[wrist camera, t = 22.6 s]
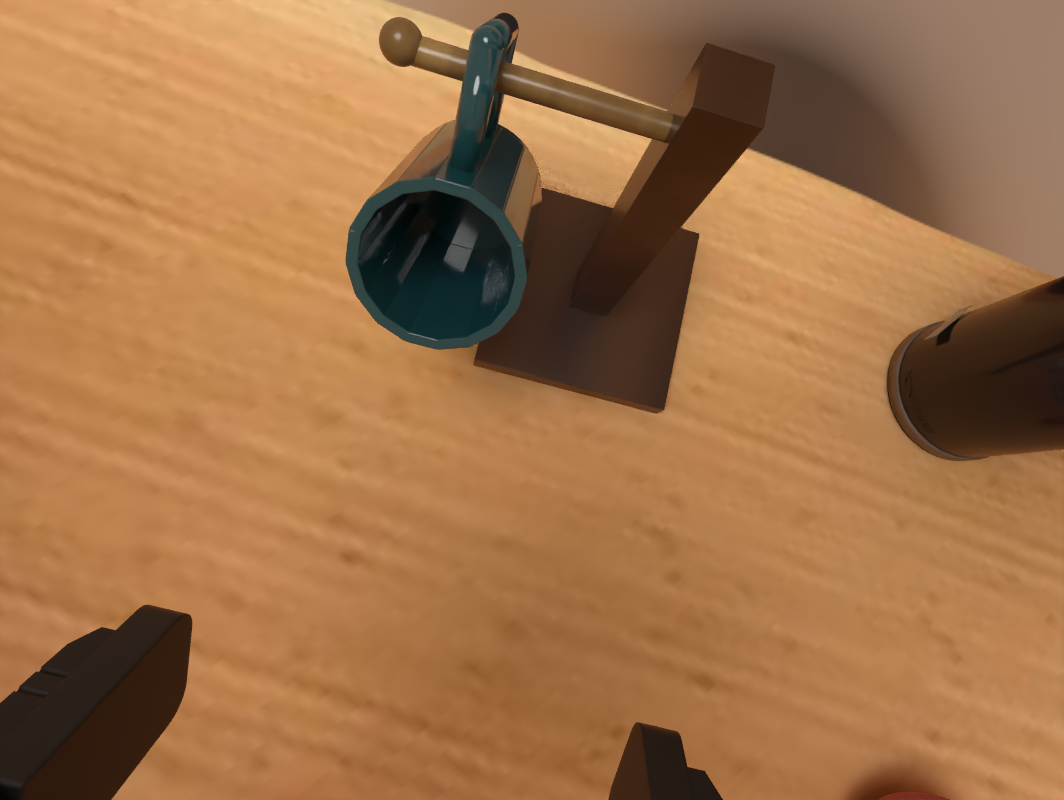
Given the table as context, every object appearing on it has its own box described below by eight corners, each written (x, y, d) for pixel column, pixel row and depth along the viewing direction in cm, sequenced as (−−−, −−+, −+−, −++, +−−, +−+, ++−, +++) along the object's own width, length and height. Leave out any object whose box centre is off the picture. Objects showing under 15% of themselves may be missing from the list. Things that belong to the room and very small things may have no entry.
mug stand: (691, 242, 44) (928, -14, 23) (656, 413, 42) (883, 309, 20) (433, 167, 42) (423, -185, 21) (381, 341, 40) (312, 144, 19)
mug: (522, 267, 34) (502, 367, 26) (399, 233, 33) (338, 324, 25) (587, 32, 28) (588, 64, 20) (438, -15, 27) (374, -2, 19)
